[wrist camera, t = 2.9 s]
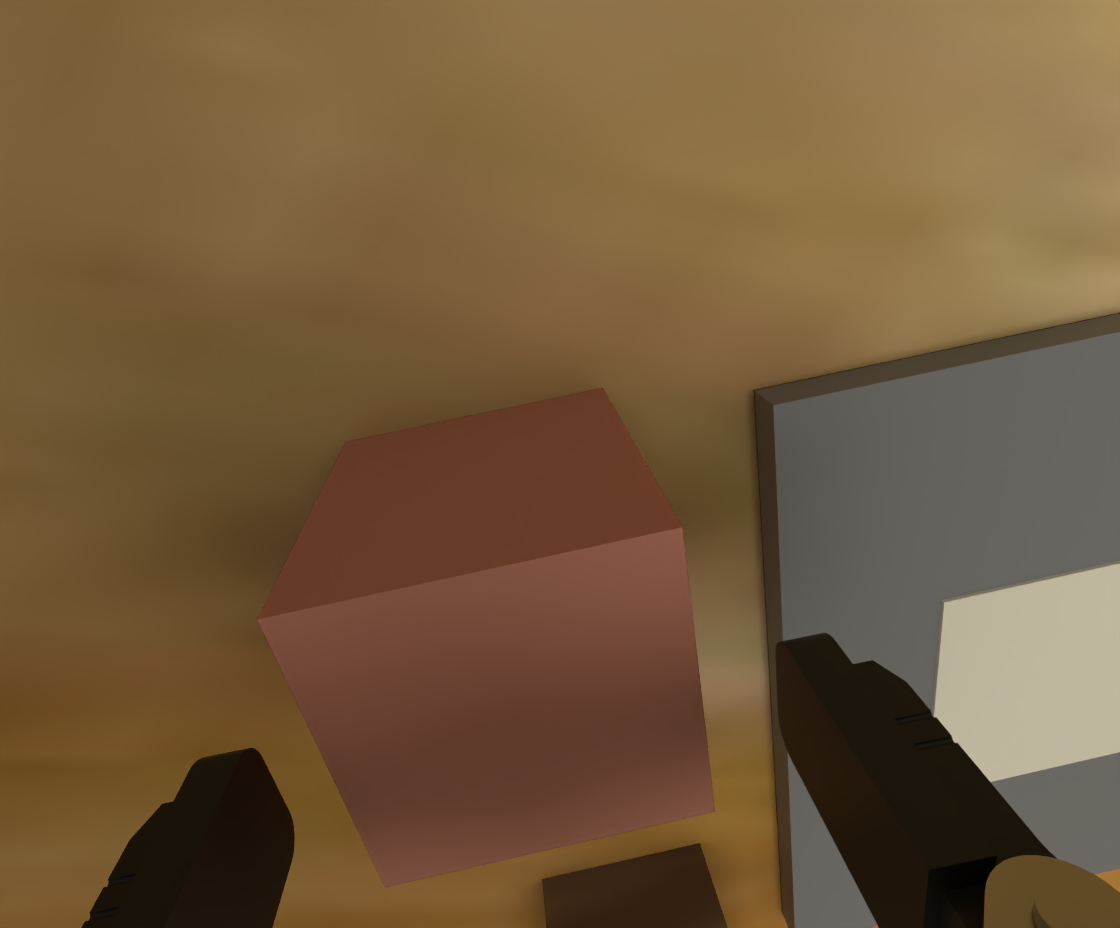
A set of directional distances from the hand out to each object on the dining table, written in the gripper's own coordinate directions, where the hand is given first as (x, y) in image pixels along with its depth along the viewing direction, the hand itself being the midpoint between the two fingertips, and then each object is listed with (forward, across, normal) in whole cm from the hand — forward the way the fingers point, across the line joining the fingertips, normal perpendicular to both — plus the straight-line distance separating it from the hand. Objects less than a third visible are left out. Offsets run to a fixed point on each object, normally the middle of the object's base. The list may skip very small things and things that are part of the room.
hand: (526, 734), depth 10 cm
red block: (+6, 0, -1) cm, 6 cm away
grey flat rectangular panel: (+6, -13, +7) cm, 16 cm away
